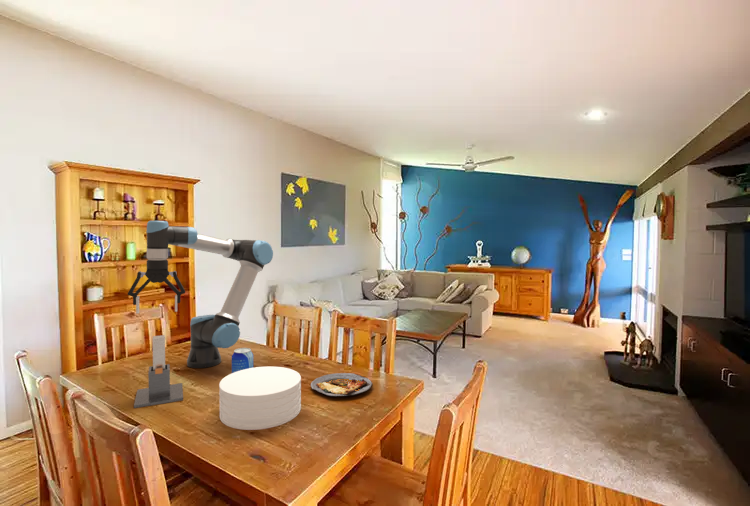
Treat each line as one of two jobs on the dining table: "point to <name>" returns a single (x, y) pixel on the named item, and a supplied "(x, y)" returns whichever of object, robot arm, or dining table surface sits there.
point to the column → (159, 352)
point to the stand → (159, 389)
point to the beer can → (242, 359)
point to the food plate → (341, 384)
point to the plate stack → (260, 397)
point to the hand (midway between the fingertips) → (157, 312)
